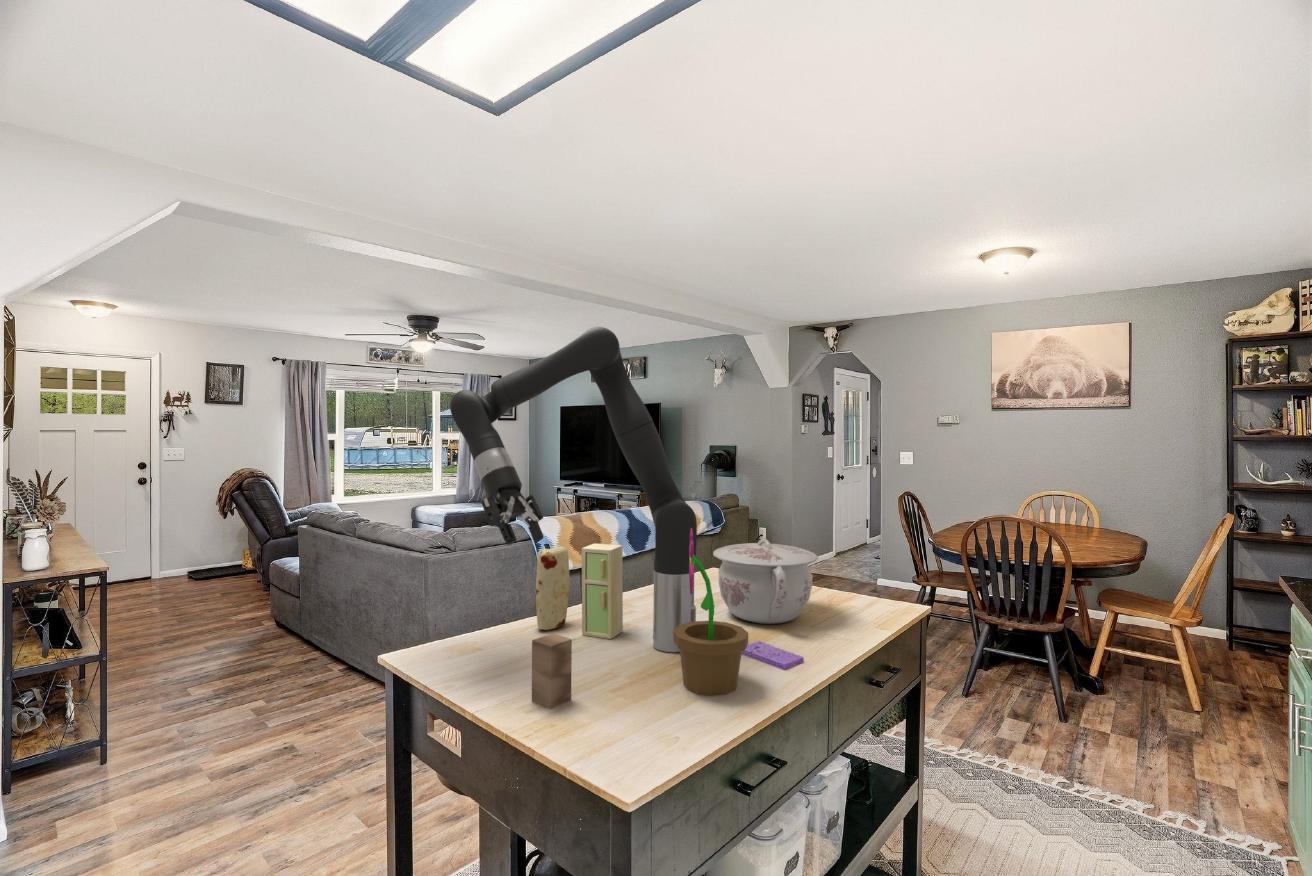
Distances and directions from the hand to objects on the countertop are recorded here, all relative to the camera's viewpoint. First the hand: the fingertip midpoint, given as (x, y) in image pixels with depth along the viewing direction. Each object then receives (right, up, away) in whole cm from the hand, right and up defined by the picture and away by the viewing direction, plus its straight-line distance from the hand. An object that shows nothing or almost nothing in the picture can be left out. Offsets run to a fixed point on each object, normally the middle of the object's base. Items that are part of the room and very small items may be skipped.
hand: (526, 541), depth 127 cm
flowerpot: (+37, -27, -8) cm, 46 cm away
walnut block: (+8, -26, -15) cm, 31 cm away
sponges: (+51, -27, +7) cm, 59 cm away
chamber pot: (+55, -26, +37) cm, 71 cm away
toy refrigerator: (+13, -26, +22) cm, 37 cm away
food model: (+1, -26, +26) cm, 37 cm away
